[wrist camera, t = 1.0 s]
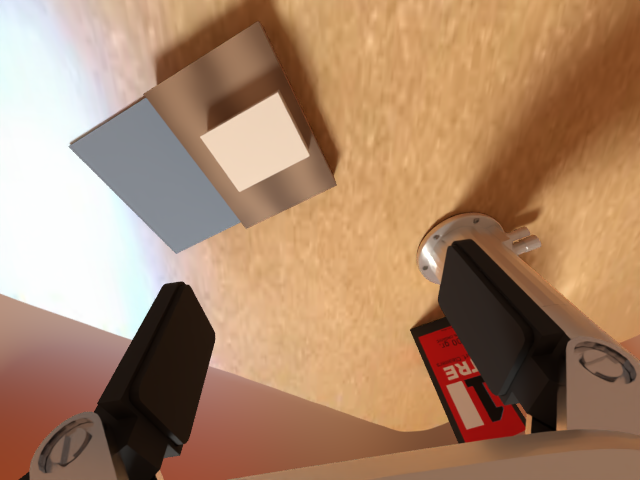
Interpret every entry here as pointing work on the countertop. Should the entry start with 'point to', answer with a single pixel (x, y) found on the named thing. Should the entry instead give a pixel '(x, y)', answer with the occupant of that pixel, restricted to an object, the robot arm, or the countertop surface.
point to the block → (257, 142)
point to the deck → (228, 100)
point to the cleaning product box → (464, 387)
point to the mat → (156, 177)
